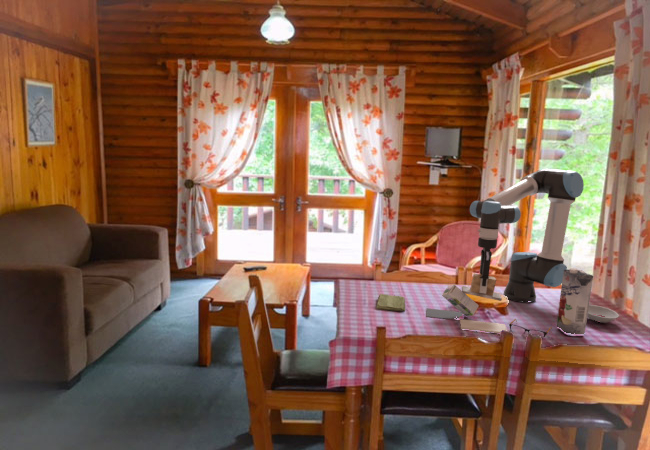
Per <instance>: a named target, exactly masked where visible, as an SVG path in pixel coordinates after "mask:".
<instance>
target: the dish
mask: <svg viewBox="0 0 650 450" xmlns="http://www.w3.org/2000/svg"><path fill="white" fill-rule="evenodd" d="M593 314H596V315H593ZM597 315H602V316H605V317H601V316H597ZM619 317H620V315H619V313H618V312H617V311H615V310H613V309H610V308H608V307H605V306H600V305H595V304H589V309H588V316H587V319H590V320H591V321H594V320H595V322H596V321H600V323H611V322H612V321H615V319H618V318H619Z"/></svg>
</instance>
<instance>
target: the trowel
mask: <svg viewBox="0 0 650 450" xmlns="http://www.w3.org/2000/svg"><path fill="white" fill-rule="evenodd" d="M481 276H482V275H481V274H480V273H475V272H474V273H473V274H472V280H471V284H470V286H467V285H466V286H465V285H461V291H462V292H463V293H465V294H466V295H469V296H470V295H471V296H475V297H480V298H486V299H489V300H493V301H494V300H495V301H498V302H502V301H503V298H502V297H501V294H500V293H499V292H495V289H496V284H497V278H496V277H494V276H490V275H489V278H488V281H487V290H486V294H484V293H479V291H480V282H481V278H480V277H481Z"/></svg>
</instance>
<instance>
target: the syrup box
mask: <svg viewBox="0 0 650 450" xmlns="http://www.w3.org/2000/svg"><path fill="white" fill-rule="evenodd" d="M441 297H443V298H444V299H445V300H446V301H447V302H448V303H450V304H451V305H452V306H453V307H454V308H456V310H458V312H461V313H463V314H464V317H466V316H467V317H471V316H474V315H475V313H476V311H477V310H478V308H479V307H480V306H479V304H478V303H476V301H474V300H473V299H472V298H471V297H470V296H469V295H468V294H465V293H463V292H462V289H461V288H459V287H458V286H457V285H456V284H452V285H448V286H447V287H446V288H445V289H444V291H443V293H442V295H441Z"/></svg>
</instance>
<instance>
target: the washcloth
mask: <svg viewBox="0 0 650 450" xmlns="http://www.w3.org/2000/svg"><path fill="white" fill-rule="evenodd" d="M405 302H406V299H405V296H400V295H390V294H386V293H385V294H384V293H380V294H379V295H378V297H377V303H376V306H375V307H376V309H377V310H382V311H396V312H405V311H406V303H405Z"/></svg>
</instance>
